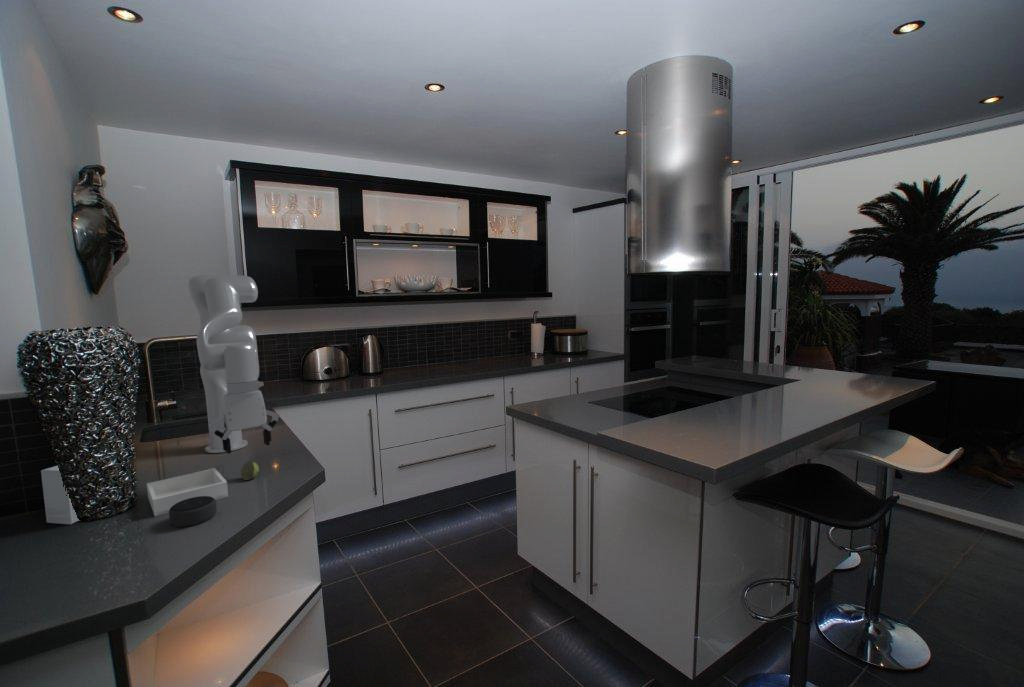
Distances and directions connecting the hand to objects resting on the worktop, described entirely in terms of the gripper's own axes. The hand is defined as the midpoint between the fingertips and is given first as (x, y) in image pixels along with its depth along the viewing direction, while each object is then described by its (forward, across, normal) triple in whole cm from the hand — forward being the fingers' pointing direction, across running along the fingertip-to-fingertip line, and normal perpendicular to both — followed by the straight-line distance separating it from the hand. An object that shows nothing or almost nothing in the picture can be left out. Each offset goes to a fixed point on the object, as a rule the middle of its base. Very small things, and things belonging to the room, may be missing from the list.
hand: (248, 448), depth 129 cm
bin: (+9, +15, +2) cm, 18 cm away
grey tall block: (+9, +36, -5) cm, 37 cm away
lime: (+9, 0, -1) cm, 9 cm away
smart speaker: (+10, +16, +18) cm, 26 cm away
